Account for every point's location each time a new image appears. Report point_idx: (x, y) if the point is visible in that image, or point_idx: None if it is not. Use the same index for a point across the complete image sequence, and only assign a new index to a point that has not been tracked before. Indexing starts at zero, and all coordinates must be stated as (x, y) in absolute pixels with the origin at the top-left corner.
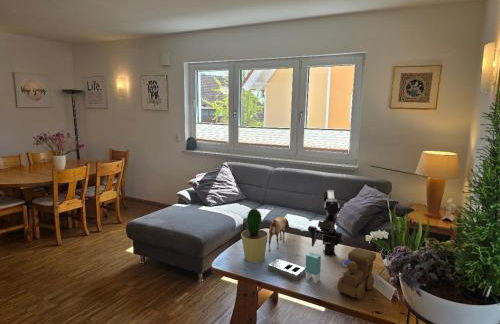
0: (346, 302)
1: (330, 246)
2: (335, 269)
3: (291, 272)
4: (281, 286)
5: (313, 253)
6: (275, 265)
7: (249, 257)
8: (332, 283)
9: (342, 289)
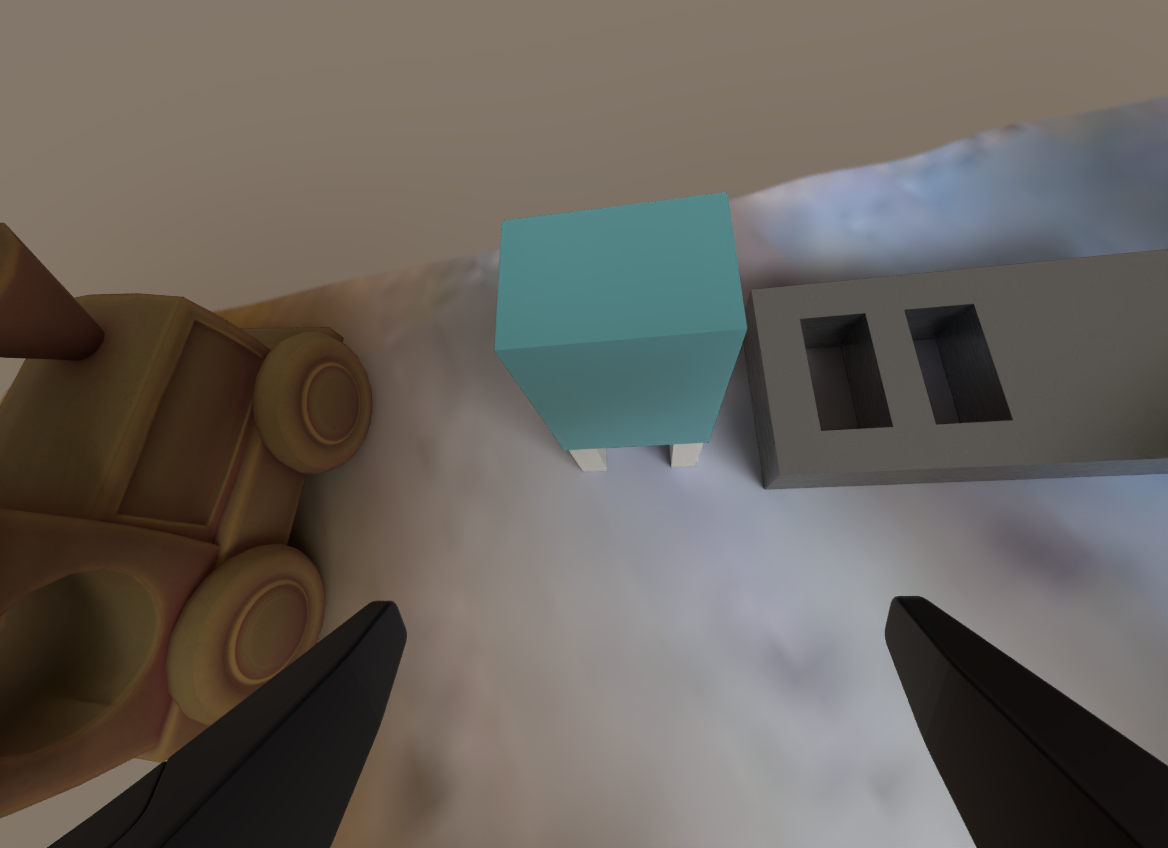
0: (304, 324)
1: (282, 687)
2: (534, 813)
3: (832, 292)
4: (782, 185)
5: (652, 329)
6: (1103, 293)
7: None
8: (460, 485)
9: (298, 330)
